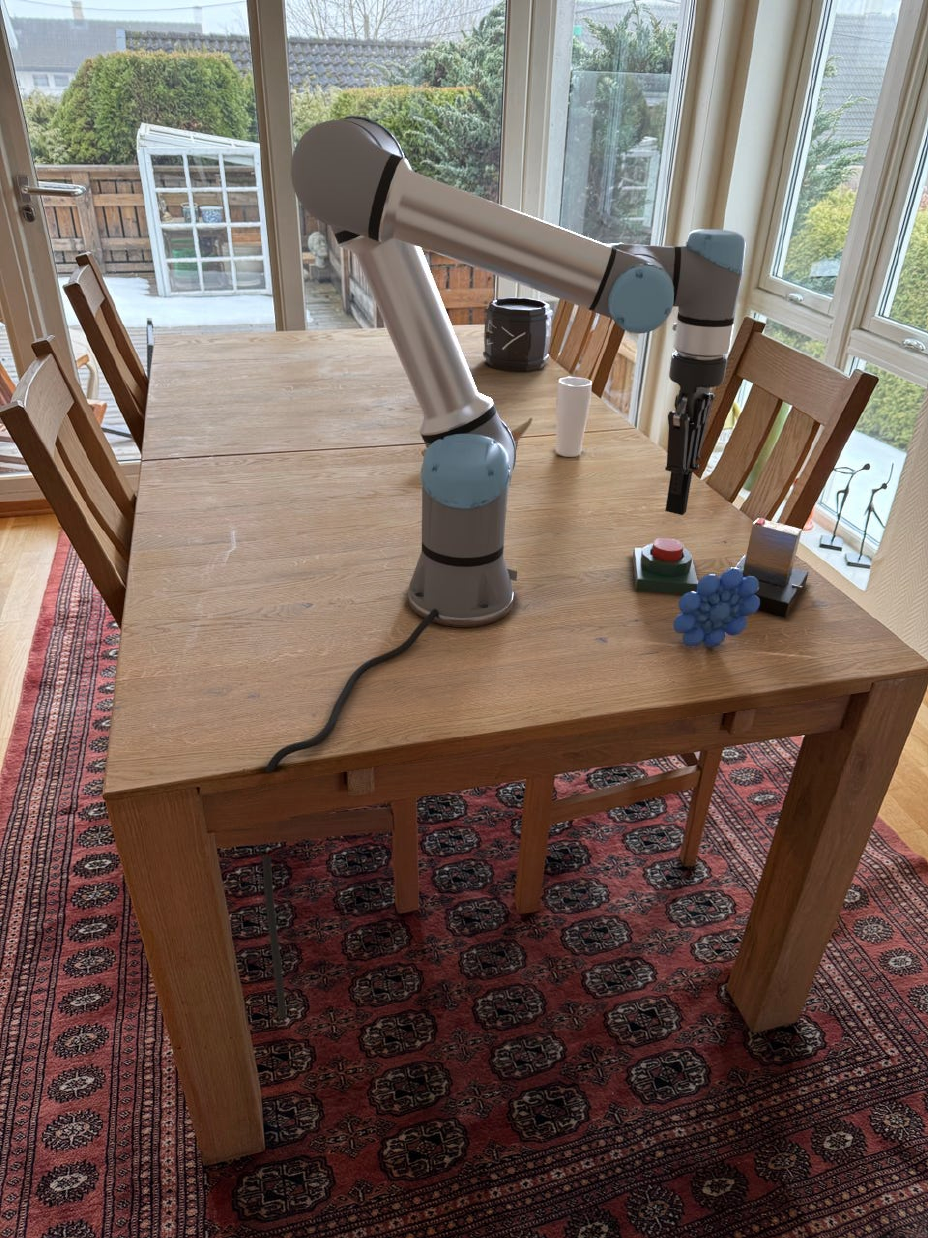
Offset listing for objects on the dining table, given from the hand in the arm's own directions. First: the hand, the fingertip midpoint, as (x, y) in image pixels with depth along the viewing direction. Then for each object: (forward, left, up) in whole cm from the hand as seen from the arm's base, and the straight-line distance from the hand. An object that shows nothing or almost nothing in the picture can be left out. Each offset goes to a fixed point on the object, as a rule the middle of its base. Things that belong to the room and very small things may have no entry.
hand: (675, 511), depth 137 cm
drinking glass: (+48, +25, -11) cm, 56 cm away
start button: (0, 0, -8) cm, 8 cm away
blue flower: (-18, -8, -11) cm, 23 cm away
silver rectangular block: (0, -15, -9) cm, 17 cm away
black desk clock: (+111, +52, -11) cm, 123 cm away
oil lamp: (+34, +41, -11) cm, 55 cm away
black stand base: (0, -15, -11) cm, 18 cm away
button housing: (0, 0, -11) cm, 11 cm away
